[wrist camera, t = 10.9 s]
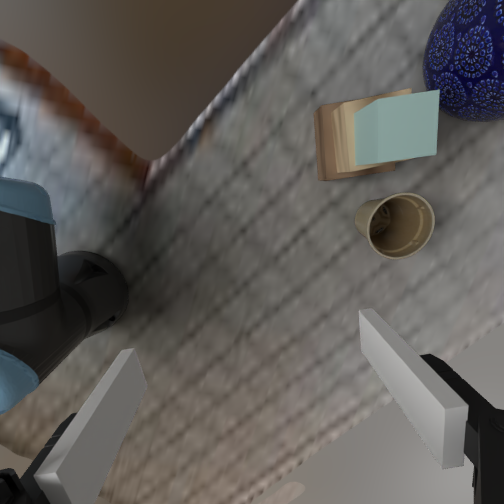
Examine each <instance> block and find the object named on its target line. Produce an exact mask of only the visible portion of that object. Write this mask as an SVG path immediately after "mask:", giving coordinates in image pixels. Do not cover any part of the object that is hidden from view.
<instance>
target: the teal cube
mask: <svg viewBox="0 0 504 504" xmlns="http://www.w3.org/2000/svg"><path fill="white" fill-rule="evenodd" d="M439 93H440V90H433V91H427V92H420V93H414V94H407V95H400V96H394V97H387V98H381V99H377V100H375V101H374V102H372V103H370V104H369V105H367V106H365V107H364V108H362V109H360V110H359V111H357V112H355V113H354V136H355V166H356V165H365V164H374V163H382V162H389V161H396V160H403V159H410V158H417V157H423V156H430V155H436V149H437V131H438V112H439Z"/></svg>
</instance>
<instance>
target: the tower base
mask: <svg viewBox="0 0 504 504" xmlns="http://www.w3.org/2000/svg"><path fill="white" fill-rule="evenodd" d="M358 100H359V99H358ZM352 101H354V100H352ZM345 102H350V101H345ZM345 102H339V103H333V104H326V105H322V106H321V107H320V108H319V109H318V110H317V111H316V112H315V113H314V125H315V139H316V153H317V167H318V180H324V181H327V180H334V179H341V178H347V177H354V176H361V175H367V174H374V173H381V172H388V171H394V170H395V163H391V164H386V165H381V166H376V167H371V168H367V169H362V170H357V171H352V172H341V173H337V166H336V157H335V147H334V138H333V129H332V120H331V112H333V111H334V110H335V109H336V108H338V107H339V106H340V105H342V104H343V103H345Z"/></svg>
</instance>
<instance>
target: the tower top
mask: <svg viewBox="0 0 504 504" xmlns="http://www.w3.org/2000/svg"><path fill="white" fill-rule="evenodd" d="M407 94H411V88H409V89H404V90H400V91H395V92H391V93H386V94H381V95H377V96H372V97H368V98H363V99H359V100H354V101H350V102H345V103H343V104H342V105H340V106H339V107H338V108H336V109H335V110H334V111H333V112H331V120H332V129H333V138H334V147H335V157H336V166H337V173H341V172H352V171H357V170H362V169H367V168H371V167H376V166H381V165H386V164H391V163H395V162H400V161H405V160H410V159H414V158H410V159H403V160H396V161H389V162H382V163H374V164H365V165H356V166H355V136H354V113H355V112H357V111H359V110H360V109H362V108H364V107H365V106H367V105H369V104H370V103H372V102H374V101H375V100H377V99H381V98H387V97H394V96H400V95H407Z"/></svg>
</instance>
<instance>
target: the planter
mask: <svg viewBox="0 0 504 504" xmlns="http://www.w3.org/2000/svg"><path fill="white" fill-rule="evenodd" d="M423 78H424V83H425V87H426V90H427V91H433V90H440V93H439V108H440V109H441V110H442V111H444V112H445V113H447V114H448V115H450V116H453V117H455V118H458V119H461V120H465V121H472V122H489V121H497V120H504V0H449V2H448V3H447V4H446V6H445V7H444V9H443V10H442V12H441V13H440V15H439V17H438V19H437V21H436V23H435V25H434V27H433V29H432V31H431V33H430V36H429V39H428V42H427V45H426V49H425V53H424V59H423Z"/></svg>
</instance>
